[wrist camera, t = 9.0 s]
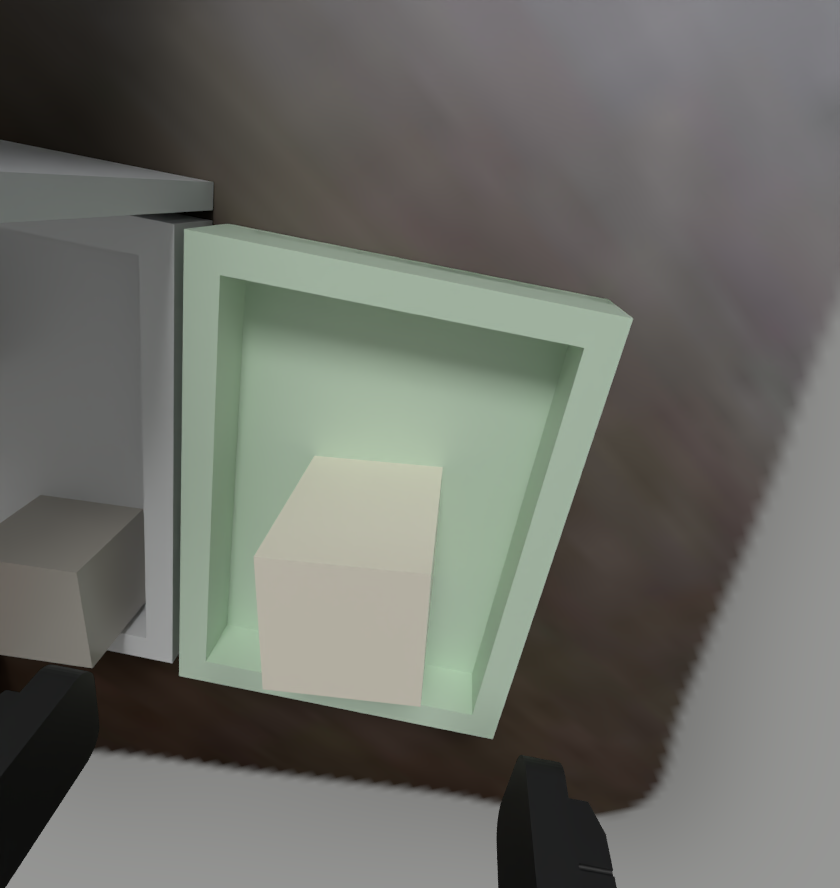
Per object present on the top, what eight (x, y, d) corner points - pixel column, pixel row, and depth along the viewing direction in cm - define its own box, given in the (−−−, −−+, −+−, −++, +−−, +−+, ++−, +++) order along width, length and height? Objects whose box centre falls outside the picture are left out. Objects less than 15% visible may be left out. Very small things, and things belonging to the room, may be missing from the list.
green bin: (228, 223, 18) (184, 228, 15) (608, 299, 18) (633, 318, 15) (212, 621, 24) (179, 676, 22) (490, 677, 24) (492, 739, 21)
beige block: (314, 455, 20) (253, 556, 14) (442, 467, 19) (431, 574, 14) (316, 562, 21) (262, 689, 16) (433, 574, 21) (420, 707, 16)
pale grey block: (40, 495, 22) (-47, 555, 18) (143, 509, 22) (76, 572, 18) (56, 580, 23) (-21, 651, 20) (151, 594, 23) (92, 668, 20)
